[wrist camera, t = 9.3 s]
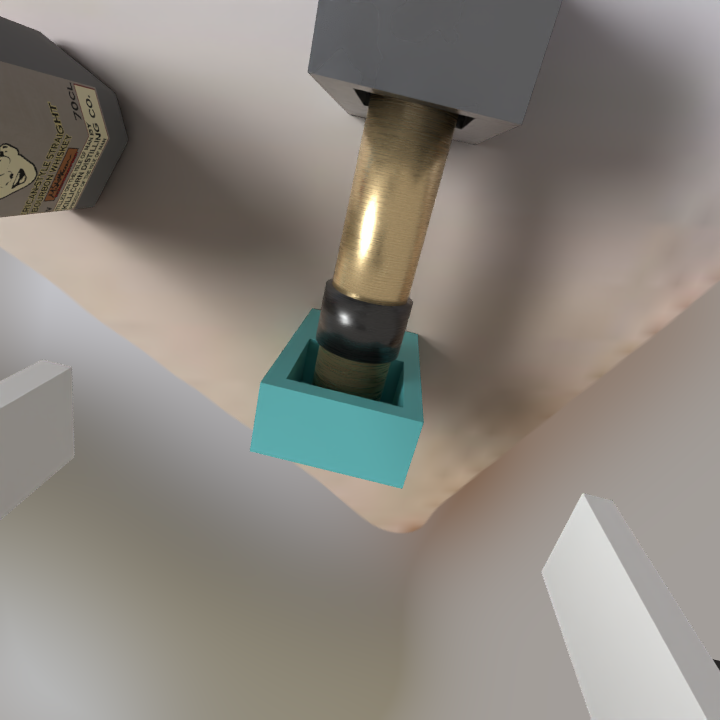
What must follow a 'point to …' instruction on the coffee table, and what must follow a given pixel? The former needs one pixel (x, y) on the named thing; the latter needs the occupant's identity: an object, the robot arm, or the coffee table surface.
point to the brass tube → (381, 244)
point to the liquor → (52, 127)
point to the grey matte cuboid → (435, 56)
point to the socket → (339, 414)
